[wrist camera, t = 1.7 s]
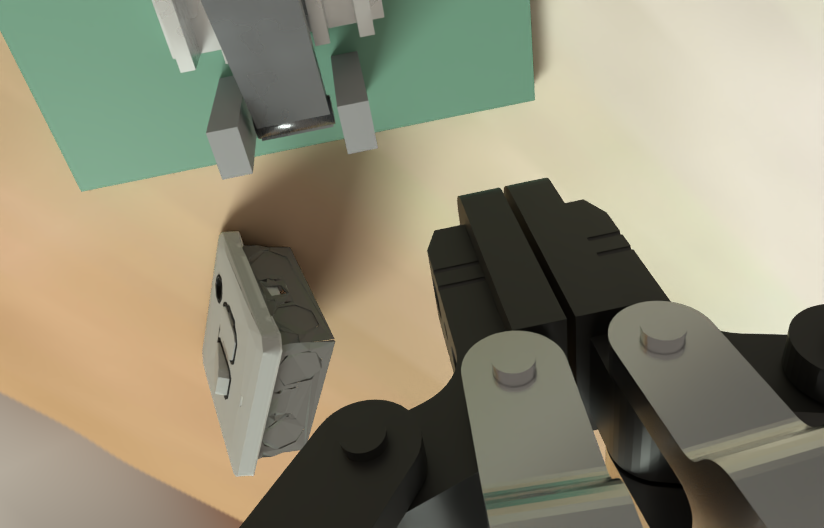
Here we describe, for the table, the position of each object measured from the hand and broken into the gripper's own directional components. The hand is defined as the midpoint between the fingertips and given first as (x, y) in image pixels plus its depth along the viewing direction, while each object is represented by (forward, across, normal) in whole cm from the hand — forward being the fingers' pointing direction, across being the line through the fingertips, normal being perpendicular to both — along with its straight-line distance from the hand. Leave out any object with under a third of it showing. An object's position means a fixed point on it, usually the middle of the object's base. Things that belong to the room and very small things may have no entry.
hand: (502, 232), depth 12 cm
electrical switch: (+22, +10, +16) cm, 29 cm away
